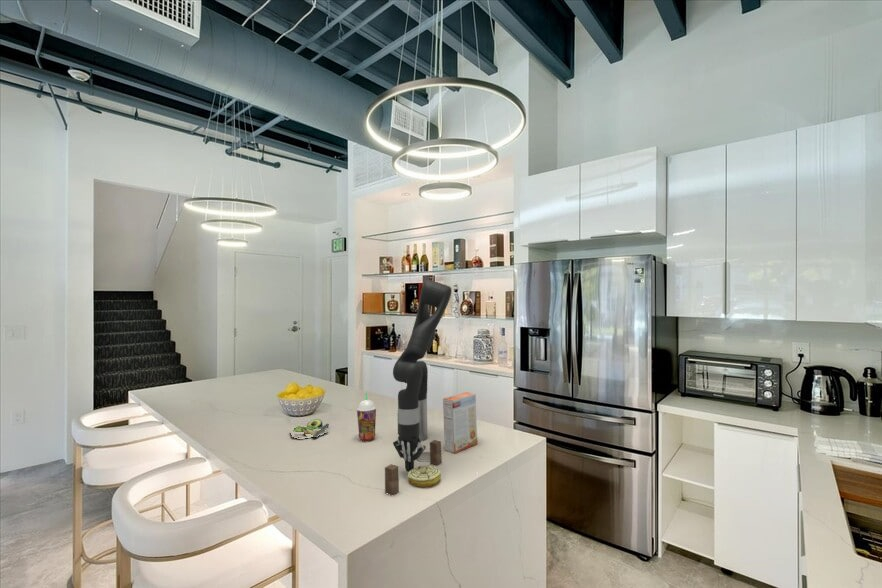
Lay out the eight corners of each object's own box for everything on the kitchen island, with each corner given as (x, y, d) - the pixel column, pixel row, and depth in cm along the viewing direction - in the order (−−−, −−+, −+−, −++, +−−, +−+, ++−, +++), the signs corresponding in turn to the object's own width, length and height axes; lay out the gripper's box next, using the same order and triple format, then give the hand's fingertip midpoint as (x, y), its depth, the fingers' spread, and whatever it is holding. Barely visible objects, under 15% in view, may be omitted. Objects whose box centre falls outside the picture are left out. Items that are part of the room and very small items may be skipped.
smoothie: (360, 444, 168) (359, 396, 168) (355, 438, 175) (354, 392, 176) (379, 440, 172) (378, 394, 172) (373, 435, 179) (372, 390, 179)
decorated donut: (418, 472, 140) (418, 461, 140) (445, 477, 135) (445, 466, 135) (402, 484, 131) (402, 473, 131) (431, 491, 126) (431, 479, 126)
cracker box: (466, 441, 169) (465, 391, 169) (477, 444, 165) (476, 393, 165) (443, 450, 159) (442, 397, 160) (454, 454, 155) (453, 400, 155)
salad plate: (333, 438, 178) (333, 427, 178) (291, 444, 171) (290, 433, 171) (328, 425, 195) (328, 416, 195) (289, 431, 188) (289, 421, 189)
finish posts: (385, 493, 125) (384, 467, 125) (434, 461, 149) (434, 439, 149) (392, 495, 123) (392, 469, 123) (441, 463, 147) (441, 441, 147)
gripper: (430, 420, 137) (431, 471, 137) (400, 414, 144) (401, 463, 144) (417, 426, 131) (418, 479, 130) (386, 420, 138) (387, 471, 138)
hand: (409, 471), depth 137 cm, fingers closed
